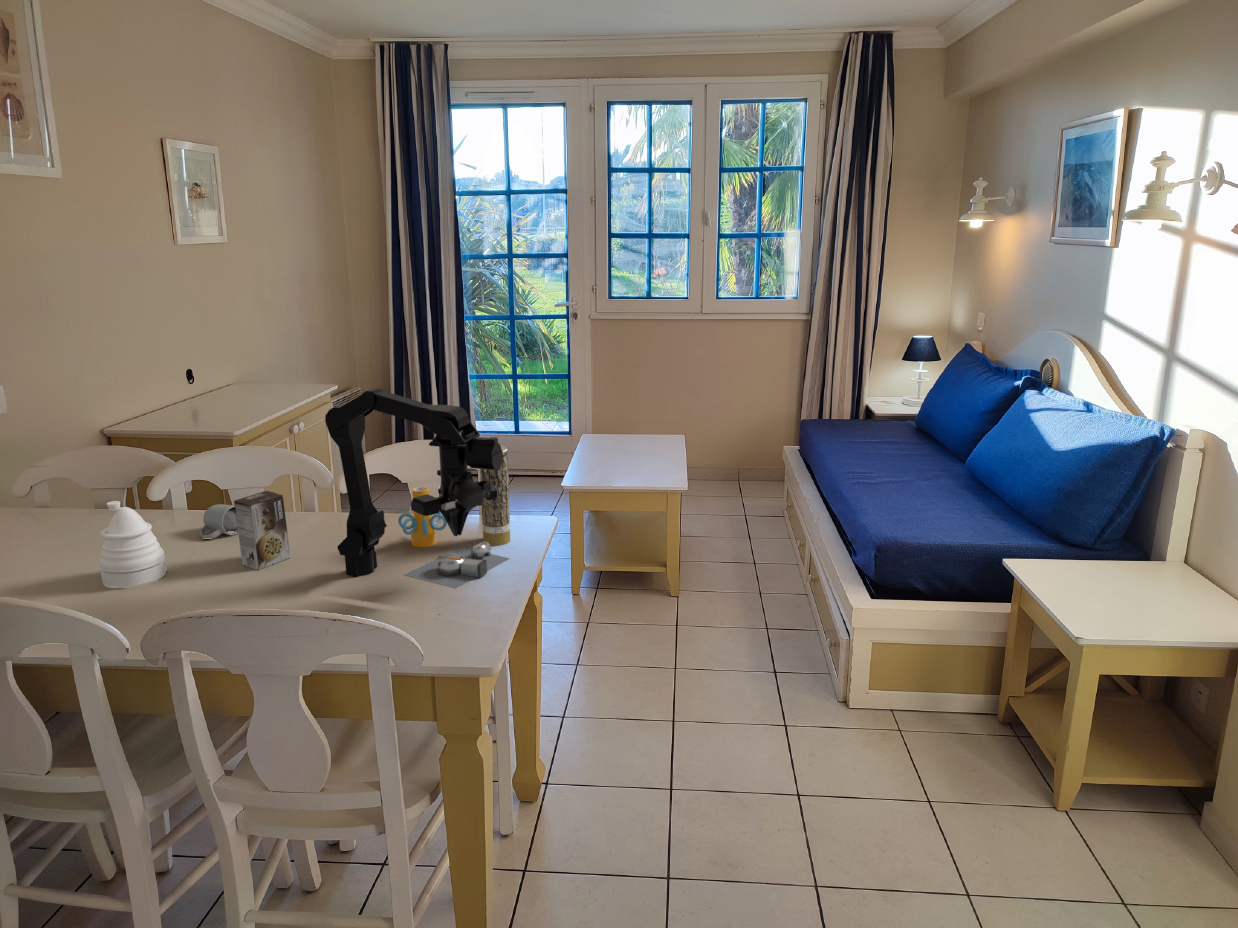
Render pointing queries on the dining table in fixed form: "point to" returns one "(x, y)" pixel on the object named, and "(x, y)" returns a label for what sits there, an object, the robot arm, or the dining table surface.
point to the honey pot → (130, 550)
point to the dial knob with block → (460, 565)
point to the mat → (431, 575)
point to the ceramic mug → (219, 520)
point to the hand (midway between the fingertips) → (457, 535)
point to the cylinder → (421, 524)
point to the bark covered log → (497, 505)
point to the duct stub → (481, 550)
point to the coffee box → (262, 529)
